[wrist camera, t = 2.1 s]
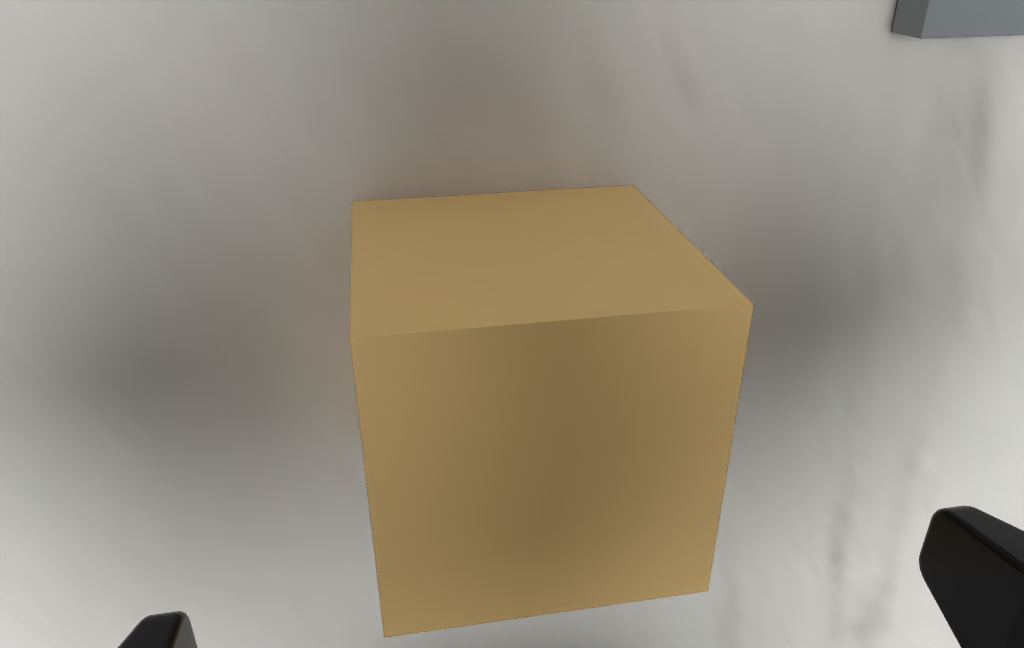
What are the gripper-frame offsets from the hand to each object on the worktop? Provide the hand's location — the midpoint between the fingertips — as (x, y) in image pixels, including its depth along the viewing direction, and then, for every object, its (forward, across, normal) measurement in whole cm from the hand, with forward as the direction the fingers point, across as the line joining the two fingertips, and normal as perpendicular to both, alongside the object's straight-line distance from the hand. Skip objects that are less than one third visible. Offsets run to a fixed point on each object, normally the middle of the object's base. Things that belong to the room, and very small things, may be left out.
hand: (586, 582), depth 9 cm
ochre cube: (+7, 0, 0) cm, 7 cm away
